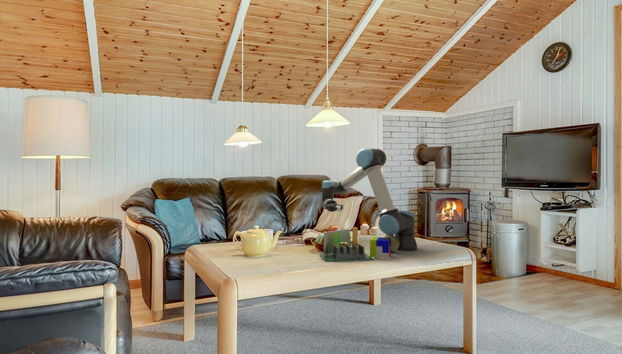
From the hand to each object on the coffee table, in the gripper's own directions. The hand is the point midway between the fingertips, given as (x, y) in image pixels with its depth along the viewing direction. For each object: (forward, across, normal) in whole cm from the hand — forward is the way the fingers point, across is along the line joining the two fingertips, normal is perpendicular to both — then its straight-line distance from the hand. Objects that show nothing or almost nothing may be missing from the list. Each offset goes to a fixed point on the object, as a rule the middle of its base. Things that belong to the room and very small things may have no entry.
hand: (339, 209), depth 245 cm
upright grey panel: (+9, +4, -23) cm, 25 cm away
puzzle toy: (+19, -19, -25) cm, 36 cm away
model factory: (+18, +1, -25) cm, 31 cm away
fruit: (+9, -30, -24) cm, 39 cm away
